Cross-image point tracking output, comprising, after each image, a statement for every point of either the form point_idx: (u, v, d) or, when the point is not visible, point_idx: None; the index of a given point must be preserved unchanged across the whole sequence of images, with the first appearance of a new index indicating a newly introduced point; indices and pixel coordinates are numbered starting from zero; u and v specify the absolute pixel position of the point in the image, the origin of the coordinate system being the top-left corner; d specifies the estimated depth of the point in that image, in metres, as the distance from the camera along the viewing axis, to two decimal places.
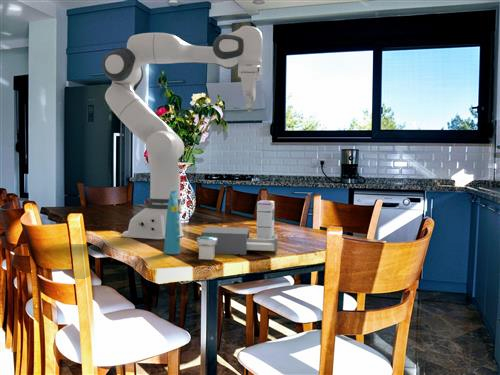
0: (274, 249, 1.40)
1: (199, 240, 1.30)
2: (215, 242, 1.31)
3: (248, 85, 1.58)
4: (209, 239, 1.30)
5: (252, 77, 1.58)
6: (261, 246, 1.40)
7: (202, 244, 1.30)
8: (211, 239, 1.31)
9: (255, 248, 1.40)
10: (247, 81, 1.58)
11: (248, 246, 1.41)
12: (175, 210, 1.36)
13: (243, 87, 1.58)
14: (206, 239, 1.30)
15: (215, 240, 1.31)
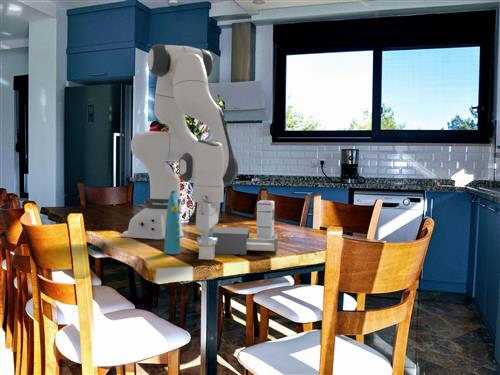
0: (274, 249, 1.40)
1: (199, 240, 1.30)
2: (215, 242, 1.31)
3: None
4: (209, 239, 1.30)
5: None
6: (261, 246, 1.40)
7: None
8: (211, 239, 1.31)
9: (255, 248, 1.40)
10: None
11: (248, 246, 1.41)
12: (175, 210, 1.36)
13: None
14: None
15: (215, 240, 1.31)
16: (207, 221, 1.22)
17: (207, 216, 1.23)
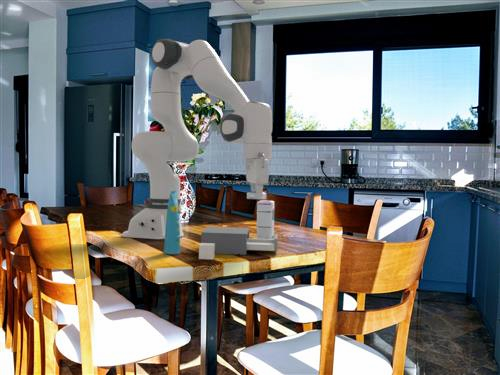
0: (274, 249, 1.40)
1: (251, 194, 1.41)
2: (265, 196, 1.42)
3: None
4: None
5: None
6: (261, 246, 1.40)
7: (255, 197, 1.40)
8: (262, 193, 1.41)
9: (255, 248, 1.40)
10: None
11: (248, 246, 1.41)
12: (175, 210, 1.36)
13: None
14: None
15: (265, 194, 1.42)
16: (267, 174, 1.33)
17: (267, 169, 1.33)
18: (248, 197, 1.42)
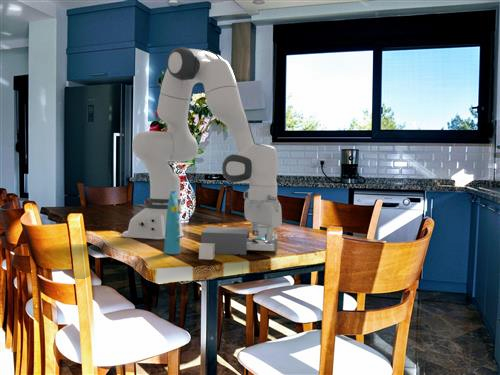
0: (274, 249, 1.40)
1: (259, 241, 1.43)
2: None
3: None
4: (267, 240, 1.44)
5: None
6: (261, 246, 1.40)
7: None
8: None
9: (255, 248, 1.40)
10: None
11: (248, 246, 1.41)
12: (175, 210, 1.36)
13: None
14: (265, 240, 1.44)
15: None
16: (281, 217, 1.37)
17: (280, 213, 1.37)
18: None
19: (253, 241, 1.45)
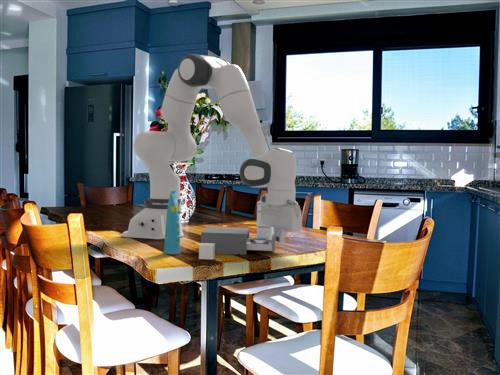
0: (272, 249, 1.40)
1: (257, 241, 1.43)
2: (268, 242, 1.46)
3: None
4: (265, 239, 1.44)
5: None
6: (259, 246, 1.40)
7: None
8: (266, 239, 1.45)
9: (253, 248, 1.40)
10: None
11: None
12: (175, 210, 1.36)
13: None
14: (263, 240, 1.44)
15: (268, 240, 1.46)
16: (301, 222, 1.37)
17: (301, 218, 1.37)
18: None
19: (251, 241, 1.44)
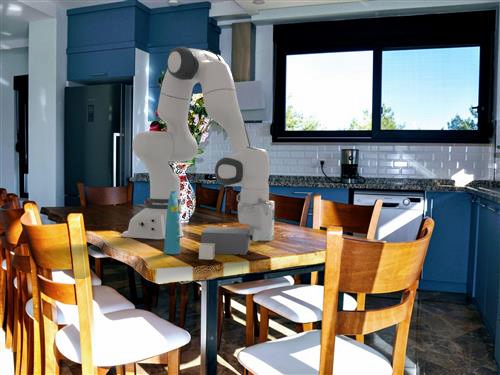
0: None
1: None
2: None
3: None
4: None
5: None
6: None
7: None
8: None
9: None
10: None
11: None
12: (175, 210, 1.36)
13: None
14: None
15: None
16: (271, 220, 1.37)
17: (270, 216, 1.37)
18: None
19: None
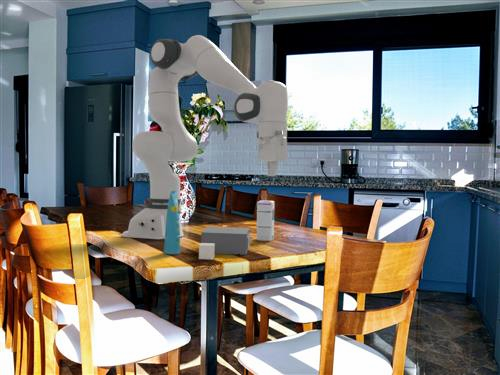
0: None
1: None
2: None
3: None
4: None
5: None
6: None
7: None
8: None
9: None
10: None
11: None
12: (175, 210, 1.36)
13: None
14: None
15: None
16: (286, 151, 1.35)
17: (286, 147, 1.35)
18: None
19: None
